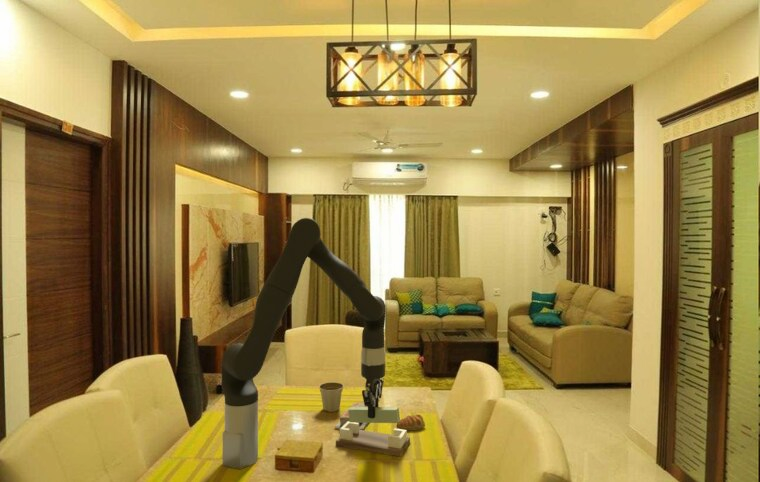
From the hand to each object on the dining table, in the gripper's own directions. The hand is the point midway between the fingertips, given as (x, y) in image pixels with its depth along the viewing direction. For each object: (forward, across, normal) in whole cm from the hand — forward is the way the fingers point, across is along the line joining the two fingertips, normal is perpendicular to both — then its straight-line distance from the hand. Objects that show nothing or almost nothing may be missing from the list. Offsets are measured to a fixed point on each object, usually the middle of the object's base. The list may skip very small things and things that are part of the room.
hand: (373, 415), depth 143 cm
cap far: (+7, 0, -8) cm, 11 cm away
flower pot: (+9, -22, -25) cm, 34 cm away
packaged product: (+9, -15, -12) cm, 21 cm away
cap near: (+7, 0, +8) cm, 11 cm away
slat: (+2, 0, 0) cm, 2 cm away
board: (+9, 0, 0) cm, 9 cm away
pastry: (+9, -16, +8) cm, 21 cm away
